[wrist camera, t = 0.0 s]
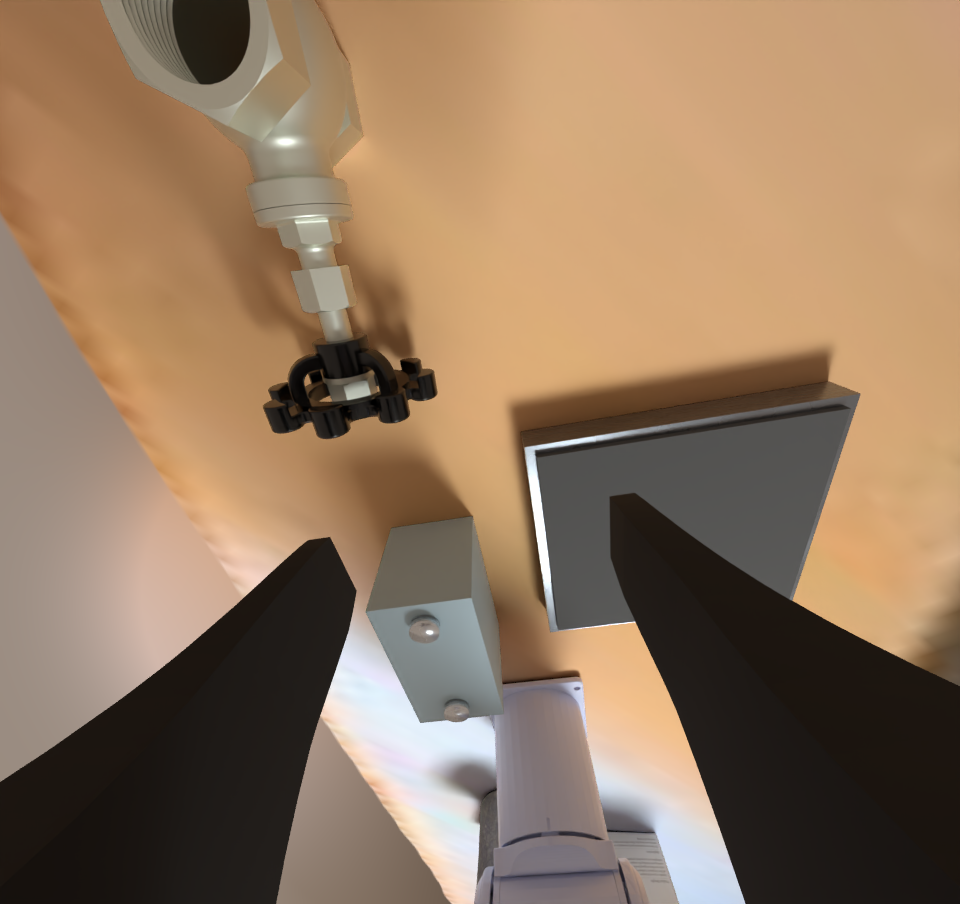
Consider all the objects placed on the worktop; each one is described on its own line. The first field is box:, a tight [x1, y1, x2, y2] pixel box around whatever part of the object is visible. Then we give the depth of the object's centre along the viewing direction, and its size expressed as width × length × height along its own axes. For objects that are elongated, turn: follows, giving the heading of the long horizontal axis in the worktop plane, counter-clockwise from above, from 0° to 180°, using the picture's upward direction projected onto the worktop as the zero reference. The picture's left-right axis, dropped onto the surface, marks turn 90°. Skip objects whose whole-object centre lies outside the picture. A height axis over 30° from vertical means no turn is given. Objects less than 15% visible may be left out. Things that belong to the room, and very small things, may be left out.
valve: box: [100, 0, 437, 439], centre depth 12 cm, size 7×7×12 cm
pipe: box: [476, 790, 499, 888], centre depth 38 cm, size 6×13×8 cm, turn 0°
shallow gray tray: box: [521, 382, 860, 632], centre depth 21 cm, size 14×15×2 cm
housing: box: [366, 516, 504, 723], centre depth 22 cm, size 10×5×6 cm, turn 10°
